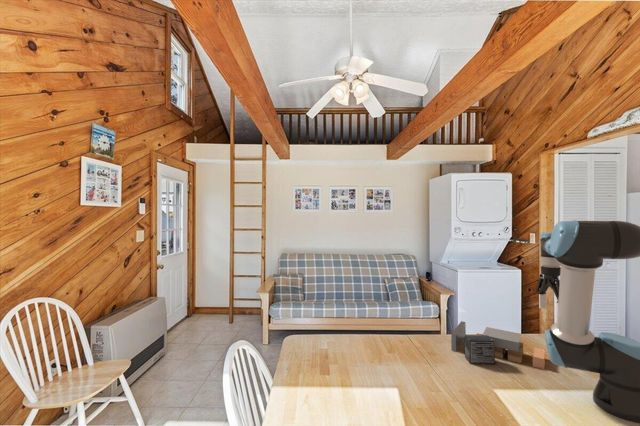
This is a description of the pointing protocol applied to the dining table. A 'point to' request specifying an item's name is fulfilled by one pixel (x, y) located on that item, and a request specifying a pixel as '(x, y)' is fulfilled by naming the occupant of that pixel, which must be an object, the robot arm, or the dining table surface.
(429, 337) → the dining table surface
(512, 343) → the slab
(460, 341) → the bar
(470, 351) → the small box
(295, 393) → the dining table surface
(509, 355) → the bed
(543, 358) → the block
